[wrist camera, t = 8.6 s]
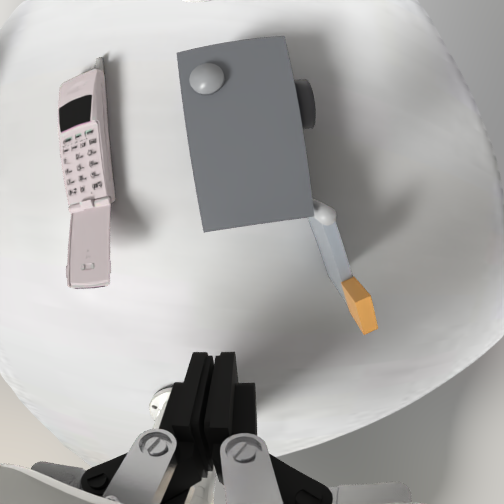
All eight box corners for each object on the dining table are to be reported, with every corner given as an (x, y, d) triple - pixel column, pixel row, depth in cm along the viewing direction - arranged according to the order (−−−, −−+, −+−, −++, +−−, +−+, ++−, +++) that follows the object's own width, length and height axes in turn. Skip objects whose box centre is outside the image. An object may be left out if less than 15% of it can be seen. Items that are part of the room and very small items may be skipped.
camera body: (314, 201, 27) (339, 214, 19) (217, 214, 28) (202, 234, 19) (292, 68, 23) (308, 31, 15) (196, 81, 24) (174, 49, 15)
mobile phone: (67, 290, 24) (41, 63, 17) (93, 271, 30) (69, 74, 23) (112, 287, 24) (85, 40, 17) (134, 266, 30) (110, 57, 22)
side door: (311, 193, 27) (347, 210, 16) (339, 273, 29) (379, 327, 19) (298, 199, 27) (327, 218, 16) (327, 278, 30) (362, 335, 19)
